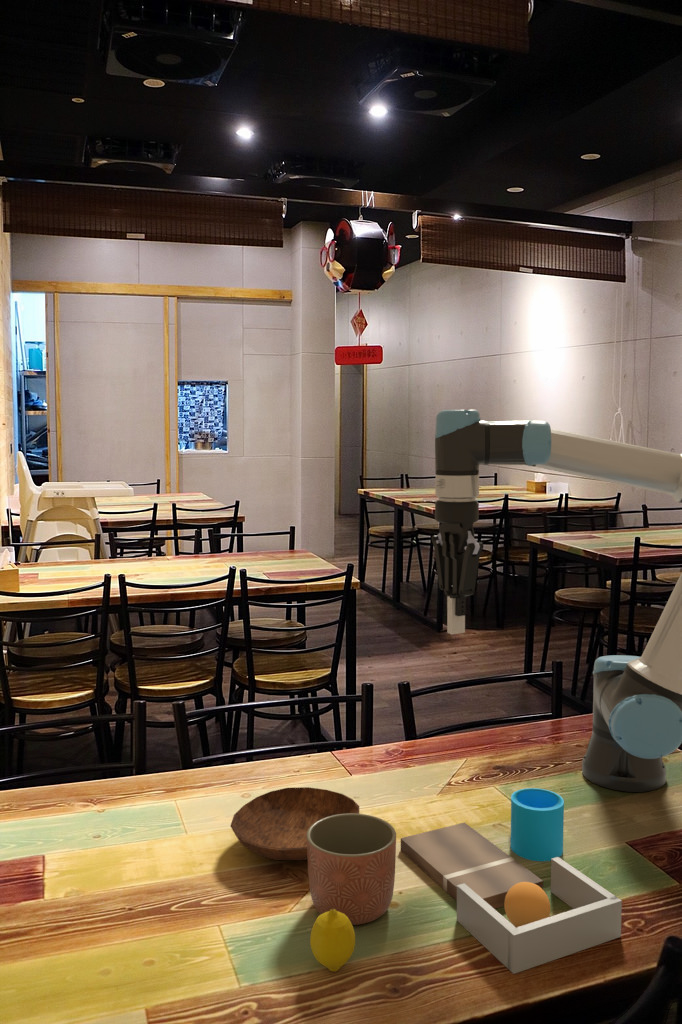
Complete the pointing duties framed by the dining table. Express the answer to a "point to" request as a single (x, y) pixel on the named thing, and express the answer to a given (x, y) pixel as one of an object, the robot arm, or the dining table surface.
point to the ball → (526, 904)
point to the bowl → (286, 820)
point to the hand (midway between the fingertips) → (456, 632)
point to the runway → (466, 862)
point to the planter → (352, 865)
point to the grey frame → (545, 921)
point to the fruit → (332, 939)
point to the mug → (537, 824)
